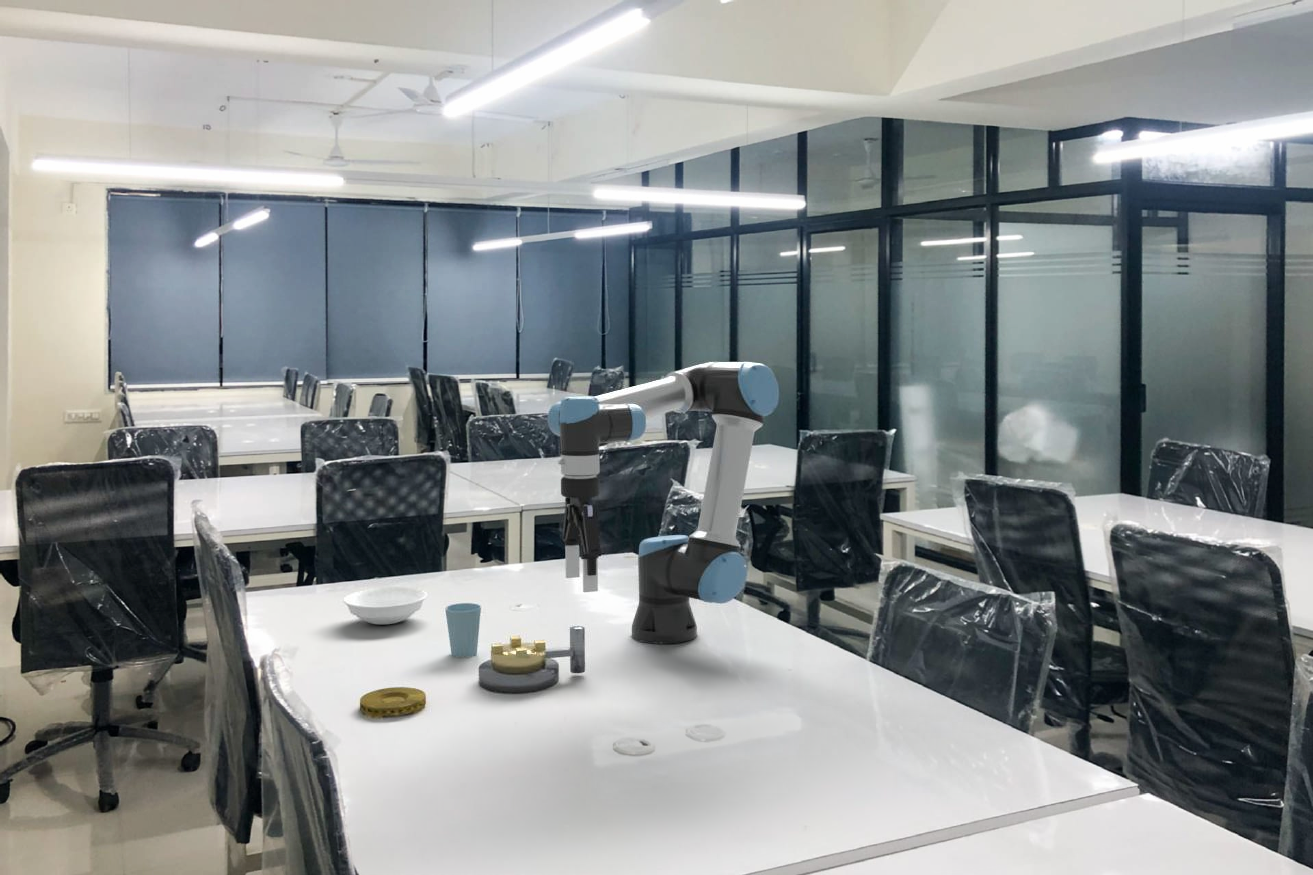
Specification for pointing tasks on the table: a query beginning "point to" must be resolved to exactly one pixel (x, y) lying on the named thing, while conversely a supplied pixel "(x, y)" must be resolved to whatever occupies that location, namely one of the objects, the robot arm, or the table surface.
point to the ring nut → (537, 654)
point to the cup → (463, 628)
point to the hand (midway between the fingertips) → (581, 584)
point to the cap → (518, 679)
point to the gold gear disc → (392, 702)
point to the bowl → (385, 604)
